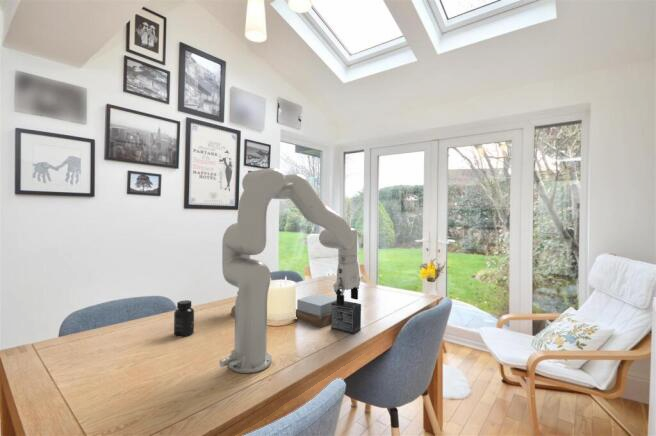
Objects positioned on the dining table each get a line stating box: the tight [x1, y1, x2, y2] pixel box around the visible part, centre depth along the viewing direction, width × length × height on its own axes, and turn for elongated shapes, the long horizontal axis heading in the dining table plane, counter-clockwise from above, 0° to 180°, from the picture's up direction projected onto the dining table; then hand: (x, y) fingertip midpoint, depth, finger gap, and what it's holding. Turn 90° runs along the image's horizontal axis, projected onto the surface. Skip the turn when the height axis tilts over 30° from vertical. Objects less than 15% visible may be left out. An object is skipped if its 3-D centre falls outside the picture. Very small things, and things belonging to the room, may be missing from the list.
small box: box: [330, 300, 362, 335], centre depth 124 cm, size 11×6×10 cm, turn 58°
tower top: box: [296, 293, 337, 317], centre depth 135 cm, size 13×13×4 cm
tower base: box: [295, 309, 332, 328], centre depth 136 cm, size 15×15×4 cm
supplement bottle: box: [173, 300, 195, 338], centre depth 116 cm, size 7×7×12 cm
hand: (347, 301), depth 124 cm, fingers open, 9 cm apart
